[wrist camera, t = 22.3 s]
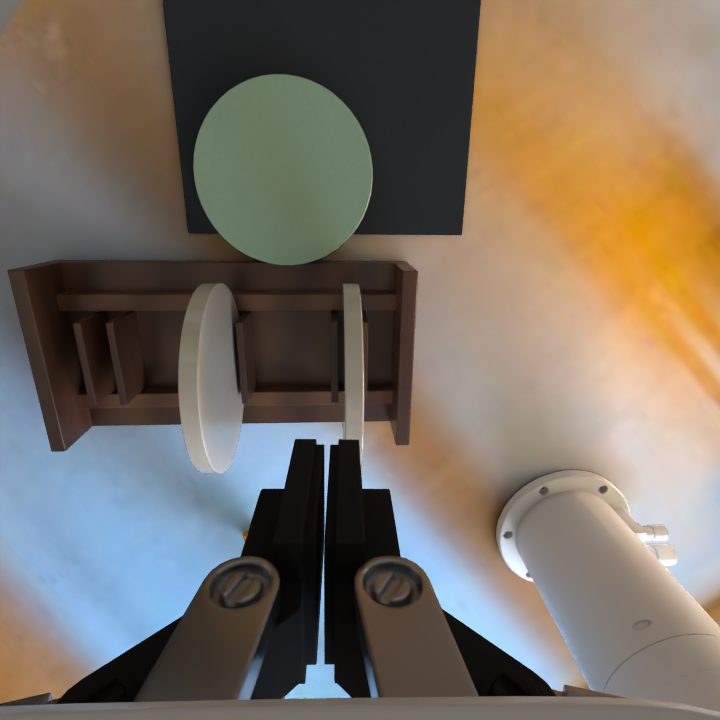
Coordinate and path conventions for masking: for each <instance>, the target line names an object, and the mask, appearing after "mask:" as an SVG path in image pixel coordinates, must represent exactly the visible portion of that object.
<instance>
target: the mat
mask: <svg viewBox="0 0 720 720" xmlns="http://www.w3.org/2000/svg"><path fill="white" fill-rule="evenodd" d="M480 5H481V0H163V8H164V17H165V26H166V35H167V44H168V54H169V63H170V72H171V81H172V90H173V99H174V108H175V117H176V126H177V135H178V144H179V153H180V162H181V171H182V180H183V189H184V198H185V207H186V217H187V226H188V233H219V232H218V231H217V230H216V229H215V228H214V226H213V225H212V223H211V222H210V220H209V219H208V217H207V215H206V213H205V211H204V209H203V207H202V205H201V203H200V200H199V197H198V194H197V190H196V185H195V181H194V171H193V160H194V150H195V143H196V140H197V136H198V133H199V130H200V128H201V125H202V123H203V121H204V119H205V117H206V116H207V114H208V112H209V111H210V109H211V108H212V107H213V105H214V104H215V103H216V102H217V101H218V99H219V98H221V97H222V96H223V95H224V94H225V93H226V92H227V91H229V90H230V89H232V88H233V87H235V86H236V85H238V84H240V83H242V82H244V81H246V80H248V79H251V78H254V77H258V76H261V75H269V74H288V75H294V76H299V77H302V78H306V79H309V80H311V81H313V82H316V83H318V84H320V85H322V86H323V87H325V88H326V89H328V90H329V91H331V92H332V93H334V94H335V95H336V96H337V97H338V98H339V99H341V100H342V101H343V102H344V104H345V105H346V106H347V107H348V108H349V109H350V110H351V112H352V113H353V115H354V116H355V118H356V119H357V120H358V122H359V124H360V126H361V128H362V130H363V132H364V134H365V137H366V140H367V142H368V145H369V149H370V154H371V159H372V167H373V183H372V190H371V196H370V200H369V204H368V207H367V209H366V212H365V214H364V217H363V219H362V220H361V222H360V224H359V226H358V227H357V229H356V230H355V231H354V233H353V234H386V235H462V227H463V214H464V202H465V190H466V177H467V165H468V153H469V140H470V128H471V116H472V103H473V91H474V79H475V66H476V54H477V42H478V29H479V17H480Z"/></svg>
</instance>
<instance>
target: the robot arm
mask: <svg viewBox="0 0 720 720" xmlns="http://www.w3.org/2000/svg"><path fill="white" fill-rule="evenodd" d="M667 539H668V531H667V529H666V527H665V526H664V525H662V524H658V525H646V526H641V525H640V524H639V523H636V522H635V521H634V520H633V519H632V517H631V516H630V509H629V506H628V504H627V501H626V499H625V497H624V496H623V495H622V494H621V492H620V491H619V490H618V489H617V488H616V487H615V486H614V485H613V484H612V483H611V482H610V481H608V480H606V479H605V478H603V477H602V476H600V475H597V474H594V473H591V472H586V471H580V470H565V471H560V472H554V473H551V474H548V475H545V476H542V477H539V478H538V479H536V480H534V481H532V482H530V483H528V484H527V485H526V486H524V487H523V488H522V489H520V490H519V491H518V492H517V493H516V494H515V495H514V496H513V497H512V498H511V499H510V500H509V501H508V503H507V504H506V506H505V507H504V509H503V510H502V513H501V515H500V518H499V520H498V524H497V529H496V540H497V545H498V548H499V551H500V553H501V555H502V557H503V559H504V561H505V563H506V564H507V565H508V567H509V568H510V569H511V570H512V571H513V572H515V573H516V574H517V575H518V576H520V577H522V578H524V579H526V580H528V581H532V582H534V583H535V585H536V587H537V589H538V591H539V593H540V595H541V597H542V599H543V601H544V602H545V604H546V606H547V608H548V610H549V612H550V614H551V616H552V618H553V620H554V621H555V623H556V625H557V627H558V629H559V631H560V633H561V635H562V637H563V639H564V641H565V642H566V644H567V646H568V648H569V650H570V652H571V654H572V656H573V658H574V660H575V661H576V663H577V665H578V667H579V669H580V671H581V673H582V675H583V677H584V679H585V680H586V682H587V684H588V686H589V688H590V690H588V689H583V688H578V687H573V686H569V685H564V689H563V692H561V691H557V690H552V689H551V688H550V686H549V685H548V684H547V683H546V682H545V681H544V680H543V679H542V678H540V677H539V676H538V675H537V674H536V673H535V672H533V671H532V670H530V669H529V668H527V667H526V666H524V665H523V664H521V663H520V662H519V661H517V660H516V659H514V658H513V657H511V656H510V655H508V654H507V653H505V652H504V651H503V650H501V649H500V648H498V647H497V646H495V645H494V644H492V643H491V642H489V641H488V640H486V639H485V638H484V637H482V636H481V635H479V634H478V633H476V632H475V631H473V630H472V629H470V628H469V627H468V626H466V625H465V624H463V623H462V622H460V621H459V620H457V619H456V618H454V617H453V616H452V615H450V614H449V613H447V612H446V611H444V610H443V609H441V606H440V604H439V601H438V599H437V597H436V594H435V592H434V590H433V587H432V585H431V583H430V580H429V578H428V576H427V575H426V573H425V572H424V570H423V569H422V568H420V567H419V566H418V565H417V564H416V563H414V562H412V561H410V560H408V559H406V558H402V557H401V556H400V550H399V544H398V538H397V532H396V526H395V519H394V513H393V507H392V501H391V495H390V490H389V489H362V478H361V462H360V446H359V440H357V439H339V445H330V461H329V477H328V493H327V509H326V525H325V546H324V445H317V444H316V439H295V442H294V447H293V451H292V456H291V460H290V465H289V470H288V474H287V479H286V483H285V488H284V489H262V490H261V492H260V495H259V498H258V501H257V505H256V508H255V511H254V515H253V518H252V521H251V524H250V528H249V531H248V534H247V538H246V541H245V544H244V547H243V551H242V554H241V557H238V558H234V559H230V560H228V561H226V562H224V563H222V564H220V565H218V566H217V567H216V568H214V569H213V570H212V571H211V572H210V573H209V574H208V575H207V577H206V578H205V579H204V581H203V582H202V584H201V586H200V588H199V589H198V591H197V593H196V594H195V596H194V598H193V600H192V601H191V603H190V605H189V606H188V608H187V610H186V612H185V613H184V615H183V616H182V617H180V618H179V619H177V620H175V621H174V622H172V623H171V624H169V625H167V626H166V627H164V628H163V629H161V630H160V631H158V632H156V633H155V634H153V635H152V636H150V637H148V638H147V639H145V640H144V641H142V642H140V643H139V644H137V645H136V646H134V647H133V648H131V649H129V650H128V651H126V652H125V653H123V654H121V655H120V656H118V657H117V658H115V659H114V660H112V661H110V662H109V663H107V664H106V665H104V666H102V667H101V668H99V669H98V670H96V671H94V672H93V673H91V674H90V675H88V676H87V677H85V678H83V679H82V680H81V681H79V682H78V683H77V684H75V685H74V686H73V687H71V688H70V689H69V690H68V691H67V692H66V693H65V694H64V695H63V696H62V697H61V698H59V699H54V700H52V696H51V693H46V694H42V695H37V696H33V697H28V698H24V699H19V700H15V701H11V702H6V703H2V704H0V720H720V627H719V626H718V625H717V624H716V623H715V621H714V620H713V619H712V618H711V617H710V616H709V615H708V614H707V613H706V611H705V610H704V609H703V608H702V607H701V606H700V605H699V604H698V603H697V602H696V600H695V599H694V598H693V597H692V596H691V595H690V594H689V593H688V592H687V591H686V589H685V588H684V587H683V586H682V585H681V584H680V583H679V582H678V581H677V580H676V578H675V577H674V576H673V575H672V574H671V573H670V572H669V571H668V570H667V569H666V567H665V566H672V565H675V564H676V562H677V555H676V552H675V550H674V548H673V547H672V546H671V545H670V544H668V543H660V544H647V545H645V544H644V543H645V540H651V541H658V540H667ZM323 553H324V635H325V664H335V675H334V681H335V683H337V684H338V685H340V686H341V687H342V688H343V689H344V690H345V691H346V692H347V693H348V694H349V695H350V696H351V697H352V698H319V699H285V696H286V695H287V694H288V693H289V692H290V691H291V690H292V689H293V688H295V687H296V686H297V685H298V684H305V678H306V666H307V665H316V663H317V648H318V632H319V617H320V601H321V585H322V569H323Z"/></svg>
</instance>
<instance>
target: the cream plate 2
mask: <svg viewBox="0 0 720 720" xmlns="http://www.w3.org/2000/svg"><path fill="white" fill-rule="evenodd" d="M342 430H343V439H357V440H359V446H360V462H361V465H362V456H363V436H364V350H363V322H362V305H361V294H360V287H359V284H358V283H343V284H342Z"/></svg>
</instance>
